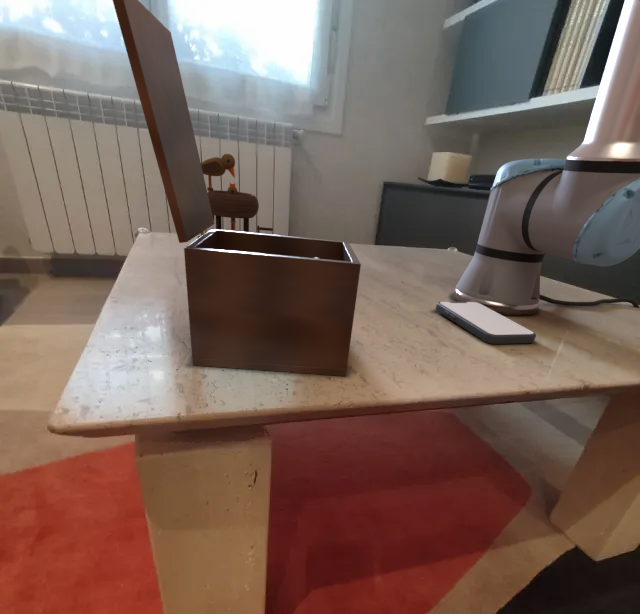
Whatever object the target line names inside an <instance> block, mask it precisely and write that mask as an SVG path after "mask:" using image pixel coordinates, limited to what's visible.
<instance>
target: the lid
mask: <svg viewBox="0 0 640 614" xmlns="http://www.w3.org/2000/svg"><path fill="white" fill-rule="evenodd" d="M112 3H113V8H114V10H115V15H116V18H117V21H118V25H119V29H120V32H121V37H122V39H123V43H124V47H125V50H126V54H127V57H128V62H129V65H130V68H131V69H130V70H131V72H132V76H133V79H134V84H135V87H136V90H137V94H138V97H139V102H140V105H141V109H142V112H143V116H144V121H145V123H146V127H147V132H148V135H149V138H150V142H151V146H152V149H153V152H154V156H155V160H156V164H157V167H158V171H159V174H160V178H161V182H162V185H163V189H164V192H165V196H166V200H167V204H168V207H169V211H170V215H171V217H172V221H173V226H174V229H175V232H176V236H177V240H178V243H179V244H182V243H189V241H191V240H193V239H194V238H195V237H198V236H200V235H201V233H202V232H203V233H204V232H205V231H206V230H208V229H209V228H211V227H213V226H214V225H215V218H214V219H213V215H212V210H211V206H210V202H209V197H208V190H207V184H206V180H205V174H203V171H202V167H201V163H202V161H201V159H200V153H199V150H198V149H199V148H198V146H197V140H196V137H195V131H194V128H193V127H194V126H193V124H192V119H191V115H190V110H189V106H188V102H187V98H186V93H185V88H184V83H183V80H182V75H181V71H180V66H179V63H178V62H179V61H178V58H177V54H176V49H175V45H174V41H173V36H172V32H171V30H170V29H168V28H167V27H166V26H165V25H164V23H162V22H161V21H160V20H159V19H158V18H157V17H156V16H155V15H154V14H153V13H152V12H151V11H150V10H149V9H148V8H147V7H146V6H145V5H144V4H143V3H142V2H141V1H139V0H112Z"/></svg>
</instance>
